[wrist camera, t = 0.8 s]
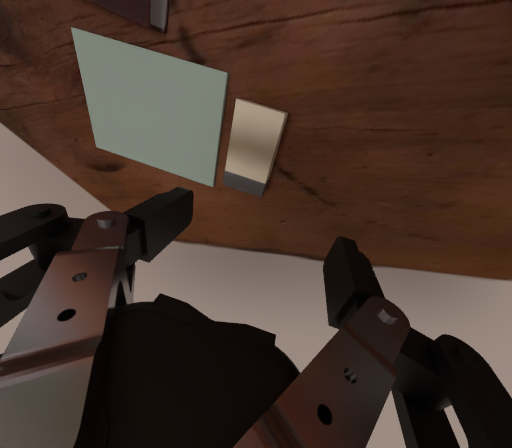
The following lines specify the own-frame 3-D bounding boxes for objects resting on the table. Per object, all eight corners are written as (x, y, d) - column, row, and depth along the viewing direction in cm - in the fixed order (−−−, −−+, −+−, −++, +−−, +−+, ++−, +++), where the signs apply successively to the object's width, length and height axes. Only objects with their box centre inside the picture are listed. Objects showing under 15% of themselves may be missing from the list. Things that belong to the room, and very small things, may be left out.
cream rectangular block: (244, 99, 23) (236, 98, 21) (288, 113, 23) (285, 113, 20) (230, 177, 29) (222, 184, 26) (265, 189, 28) (261, 197, 26)
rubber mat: (76, 28, 24) (70, 27, 23) (229, 73, 22) (227, 72, 22) (99, 146, 31) (96, 146, 31) (214, 185, 30) (212, 186, 29)
